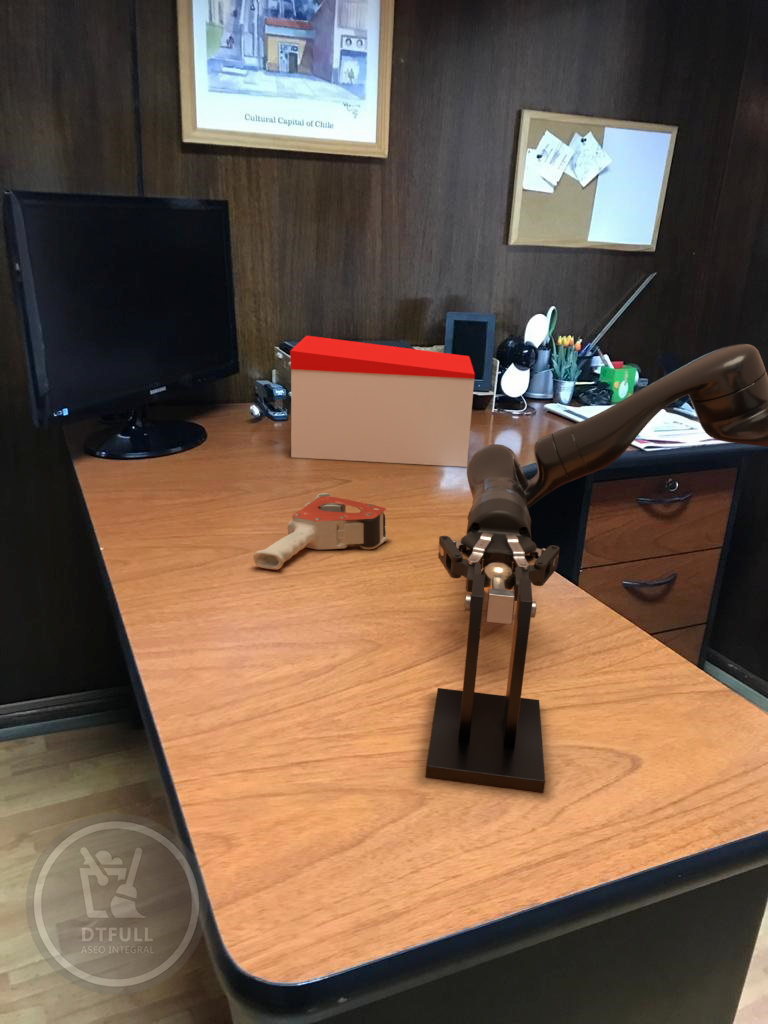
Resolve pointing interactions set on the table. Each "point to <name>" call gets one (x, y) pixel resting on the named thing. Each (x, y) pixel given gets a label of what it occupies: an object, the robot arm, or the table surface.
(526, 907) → the table surface
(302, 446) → the red-topped tan box
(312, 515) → the tape dispenser
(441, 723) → the bracket
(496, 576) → the lever
